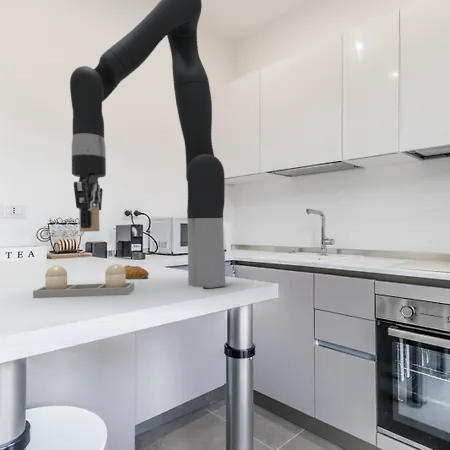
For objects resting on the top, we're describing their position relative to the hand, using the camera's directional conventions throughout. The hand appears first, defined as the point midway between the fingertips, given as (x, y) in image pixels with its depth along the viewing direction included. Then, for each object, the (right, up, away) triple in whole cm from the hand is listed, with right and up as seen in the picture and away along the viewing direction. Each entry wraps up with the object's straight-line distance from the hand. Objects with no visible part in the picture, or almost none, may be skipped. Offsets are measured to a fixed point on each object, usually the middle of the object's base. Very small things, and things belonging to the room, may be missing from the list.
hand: (89, 227), depth 82 cm
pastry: (+4, -16, +24) cm, 29 cm away
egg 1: (-6, -15, -4) cm, 17 cm away
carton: (+1, -15, -4) cm, 16 cm away
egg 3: (+7, -15, -3) cm, 17 cm away
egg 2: (0, -1, 0) cm, 1 cm away
